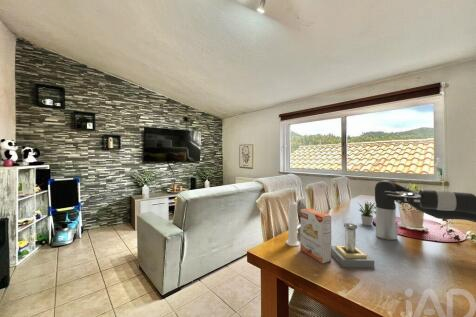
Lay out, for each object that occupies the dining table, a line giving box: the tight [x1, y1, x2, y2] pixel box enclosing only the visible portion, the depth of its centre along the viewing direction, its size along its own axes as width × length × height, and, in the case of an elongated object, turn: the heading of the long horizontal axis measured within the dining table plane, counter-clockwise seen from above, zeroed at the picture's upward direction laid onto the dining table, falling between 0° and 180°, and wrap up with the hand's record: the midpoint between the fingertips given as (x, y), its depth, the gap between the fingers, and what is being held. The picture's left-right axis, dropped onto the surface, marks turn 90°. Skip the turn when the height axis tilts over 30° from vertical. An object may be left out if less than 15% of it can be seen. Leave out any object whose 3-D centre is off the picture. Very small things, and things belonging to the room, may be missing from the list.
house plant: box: [357, 201, 376, 226], centre depth 135 cm, size 14×14×16 cm
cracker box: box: [299, 207, 332, 265], centre depth 92 cm, size 14×6×21 cm, turn 23°
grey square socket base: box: [331, 245, 375, 269], centre depth 89 cm, size 13×13×4 cm
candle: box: [285, 197, 301, 247], centre depth 105 cm, size 7×7×25 cm
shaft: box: [343, 222, 358, 253], centre depth 88 cm, size 5×5×16 cm
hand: (385, 195), depth 85 cm, fingers open, 8 cm apart
